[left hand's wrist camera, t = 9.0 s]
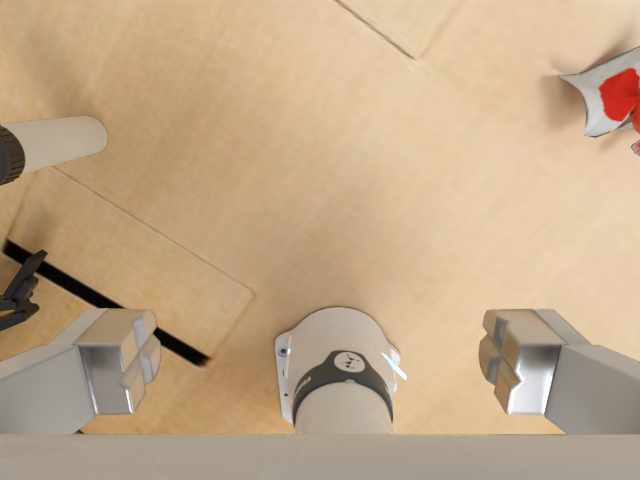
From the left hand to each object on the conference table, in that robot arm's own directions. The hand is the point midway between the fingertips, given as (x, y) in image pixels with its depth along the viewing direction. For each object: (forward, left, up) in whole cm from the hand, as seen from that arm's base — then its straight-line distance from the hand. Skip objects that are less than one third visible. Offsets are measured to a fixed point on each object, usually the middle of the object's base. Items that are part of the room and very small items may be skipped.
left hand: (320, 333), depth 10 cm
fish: (+9, -33, -43) cm, 55 cm away
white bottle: (-4, +28, -43) cm, 52 cm away
